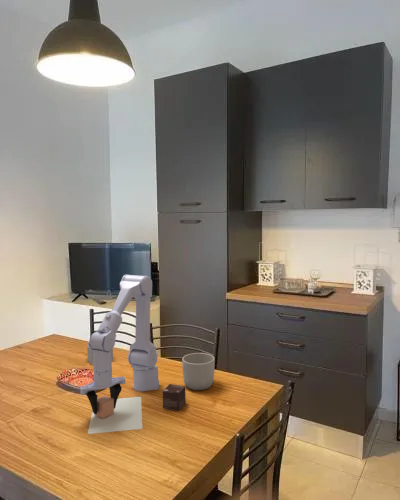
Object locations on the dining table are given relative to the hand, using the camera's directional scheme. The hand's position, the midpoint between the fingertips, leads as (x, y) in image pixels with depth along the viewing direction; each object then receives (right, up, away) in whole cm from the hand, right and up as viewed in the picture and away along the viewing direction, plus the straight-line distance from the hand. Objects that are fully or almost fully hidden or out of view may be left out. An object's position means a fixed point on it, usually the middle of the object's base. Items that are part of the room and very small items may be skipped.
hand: (104, 410), depth 130 cm
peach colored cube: (0, -1, 0) cm, 1 cm away
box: (+22, -2, +6) cm, 23 cm away
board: (+4, -3, +1) cm, 5 cm away
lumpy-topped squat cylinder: (-15, +1, +54) cm, 56 cm away
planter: (+30, -1, +24) cm, 39 cm away
